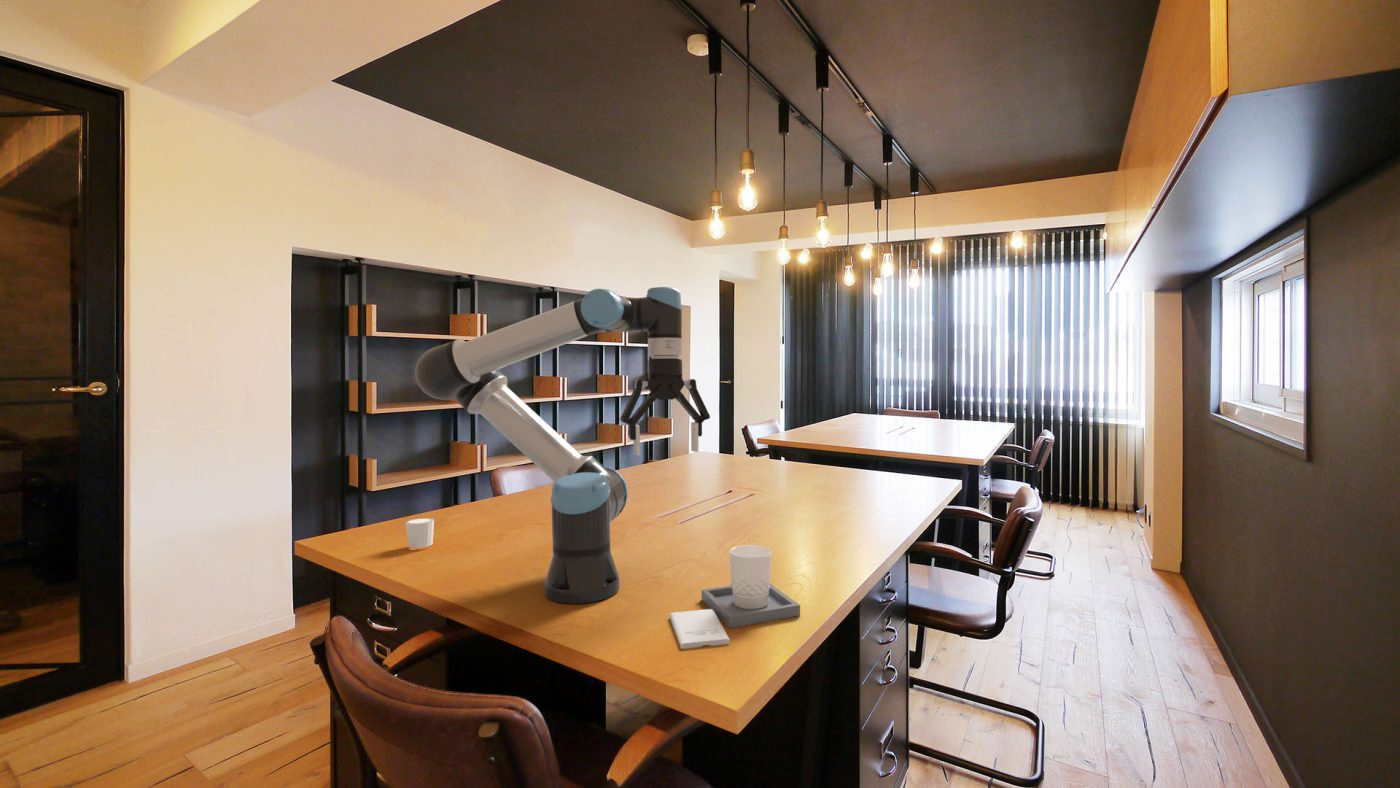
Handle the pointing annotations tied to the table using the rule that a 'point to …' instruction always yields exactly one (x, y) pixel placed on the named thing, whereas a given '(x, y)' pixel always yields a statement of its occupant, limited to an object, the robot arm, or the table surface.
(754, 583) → the white cup
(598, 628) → the table surface
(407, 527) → the white short cylinder
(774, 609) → the tray
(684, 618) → the external hard drive
